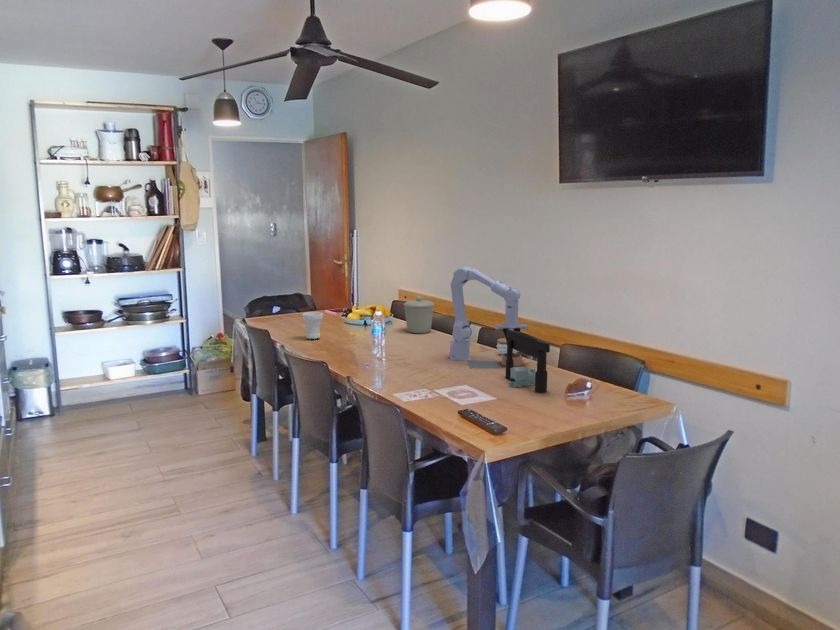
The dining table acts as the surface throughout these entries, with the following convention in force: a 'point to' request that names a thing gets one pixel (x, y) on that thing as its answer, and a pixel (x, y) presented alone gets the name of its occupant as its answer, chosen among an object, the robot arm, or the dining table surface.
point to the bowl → (516, 358)
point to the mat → (483, 364)
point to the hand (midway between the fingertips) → (511, 344)
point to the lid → (504, 348)
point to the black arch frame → (531, 348)
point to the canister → (419, 315)
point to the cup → (312, 324)
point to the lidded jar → (502, 342)
